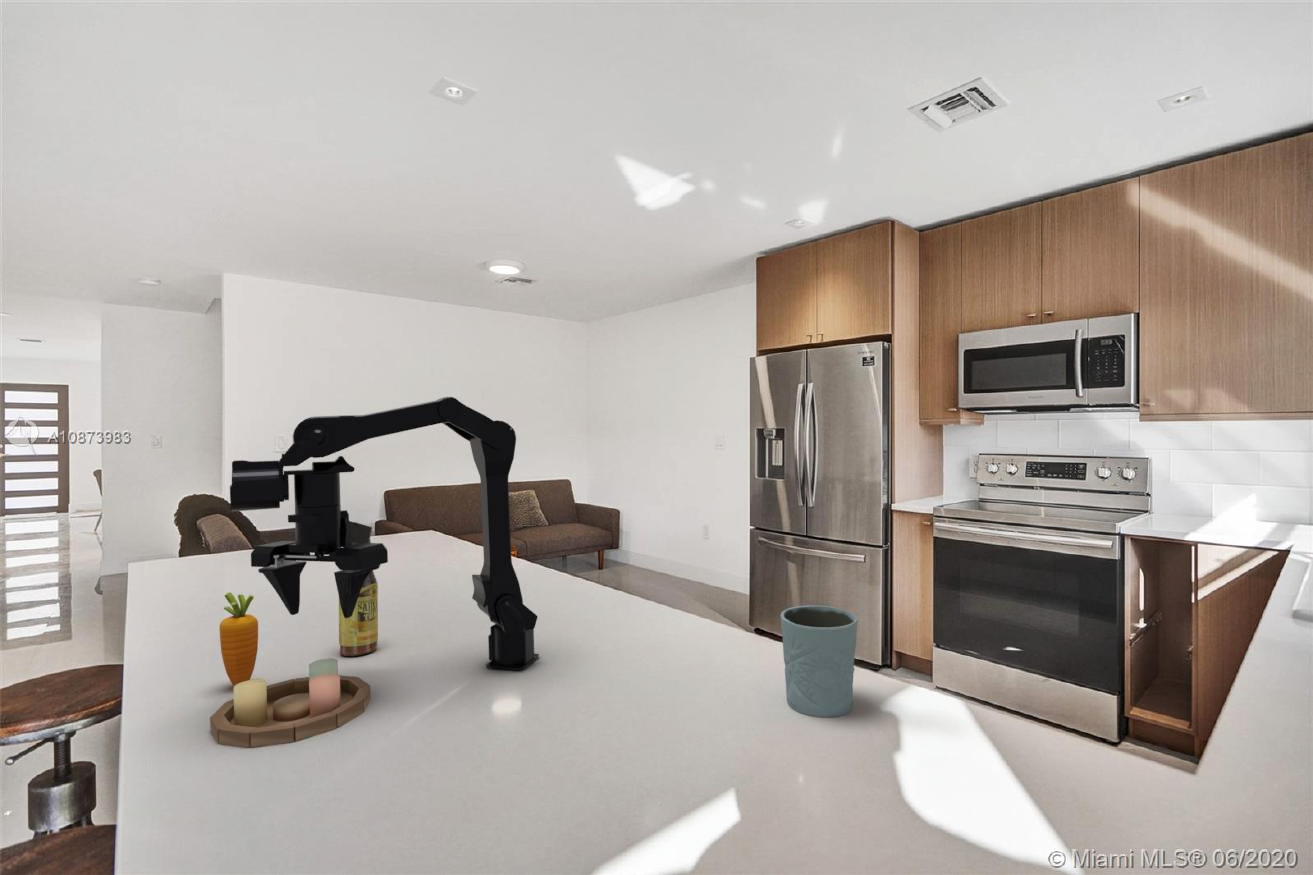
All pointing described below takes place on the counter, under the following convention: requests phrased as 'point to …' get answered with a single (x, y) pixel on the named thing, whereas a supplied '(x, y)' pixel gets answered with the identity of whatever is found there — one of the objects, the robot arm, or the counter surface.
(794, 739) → the counter surface
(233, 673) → the carrot
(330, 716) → the groove tray
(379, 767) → the counter surface
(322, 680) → the bead coral
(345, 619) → the sauce bottle
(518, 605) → the robot arm
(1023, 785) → the counter surface
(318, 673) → the bead sage
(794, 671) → the teal embossed cup
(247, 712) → the bead mustard
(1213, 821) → the counter surface
